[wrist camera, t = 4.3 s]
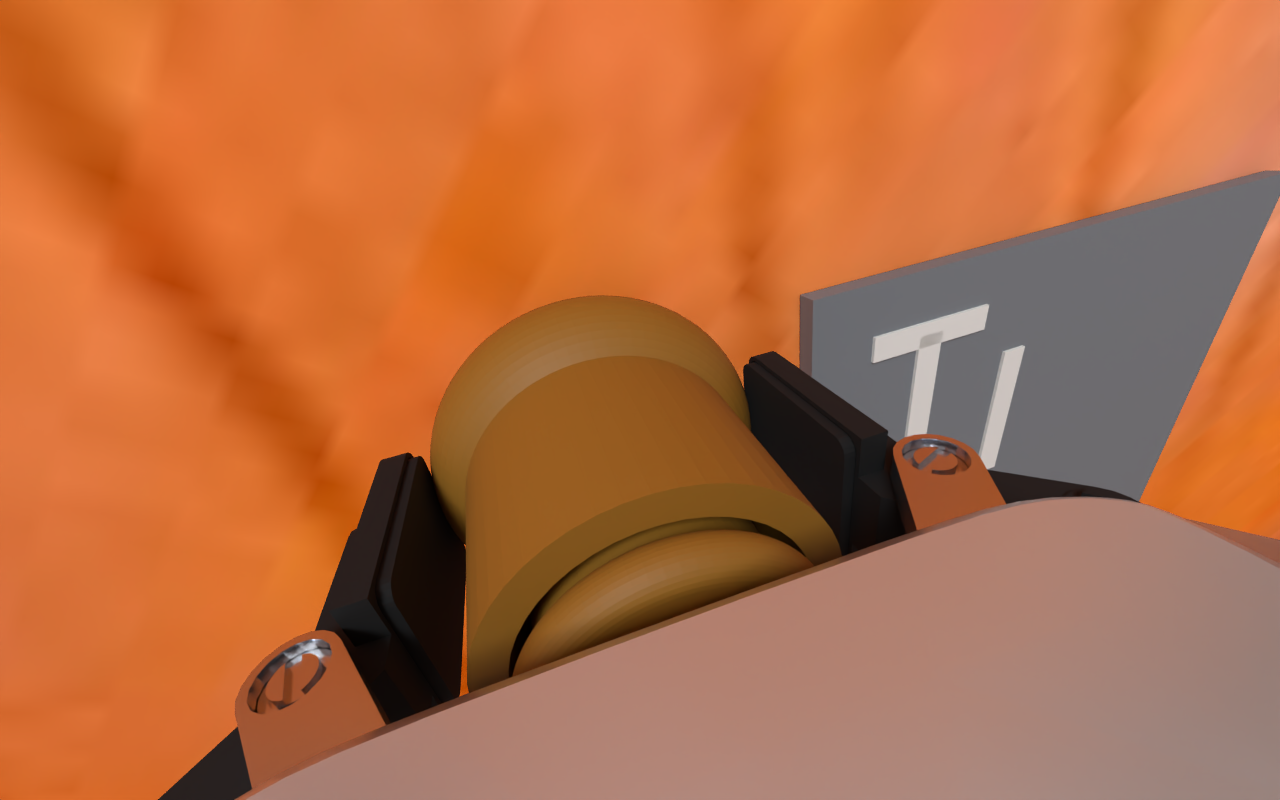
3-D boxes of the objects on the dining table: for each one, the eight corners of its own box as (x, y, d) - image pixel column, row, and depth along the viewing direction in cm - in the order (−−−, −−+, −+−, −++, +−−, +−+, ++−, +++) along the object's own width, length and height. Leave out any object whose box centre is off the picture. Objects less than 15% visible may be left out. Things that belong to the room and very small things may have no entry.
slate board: (1266, 170, 16) (1295, 171, 16) (1070, 617, 28) (1083, 627, 28) (800, 294, 13) (815, 301, 13) (798, 740, 25) (806, 755, 24)
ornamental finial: (641, 217, 11) (761, 442, 14) (361, 406, 11) (554, 578, 15) (927, 340, 4) (1009, 705, 8) (137, 860, 4) (614, 956, 8)
